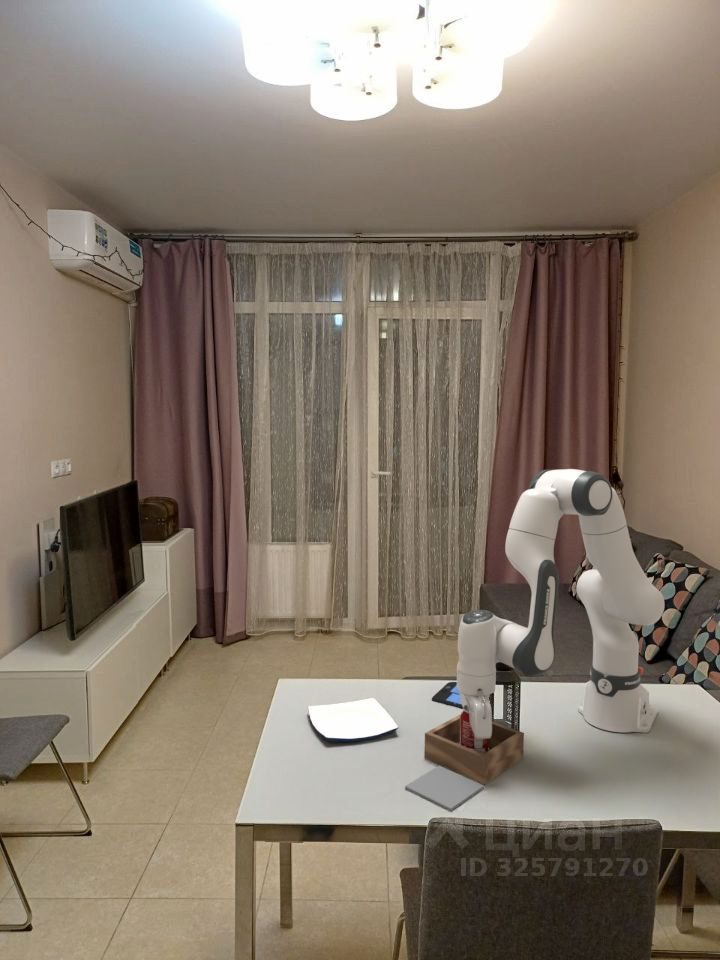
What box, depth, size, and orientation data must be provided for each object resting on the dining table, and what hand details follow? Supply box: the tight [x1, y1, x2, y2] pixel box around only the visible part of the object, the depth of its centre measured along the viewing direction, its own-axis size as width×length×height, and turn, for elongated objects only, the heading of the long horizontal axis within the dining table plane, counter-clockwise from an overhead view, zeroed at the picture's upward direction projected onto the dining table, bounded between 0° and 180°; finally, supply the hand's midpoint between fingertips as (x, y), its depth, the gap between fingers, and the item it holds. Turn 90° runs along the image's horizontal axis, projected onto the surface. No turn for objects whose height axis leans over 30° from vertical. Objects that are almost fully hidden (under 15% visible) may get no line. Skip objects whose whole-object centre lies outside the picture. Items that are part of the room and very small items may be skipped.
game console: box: [431, 681, 463, 710], centre depth 193 cm, size 14×13×2 cm
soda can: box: [459, 705, 490, 754], centre depth 159 cm, size 7×7×12 cm
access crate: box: [423, 714, 525, 785], centre depth 160 cm, size 16×16×6 cm
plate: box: [307, 697, 399, 742], centre depth 176 cm, size 20×20×3 cm
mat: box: [404, 765, 485, 812], centre depth 147 cm, size 12×12×1 cm
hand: (474, 738), depth 159 cm, fingers open, 6 cm apart
